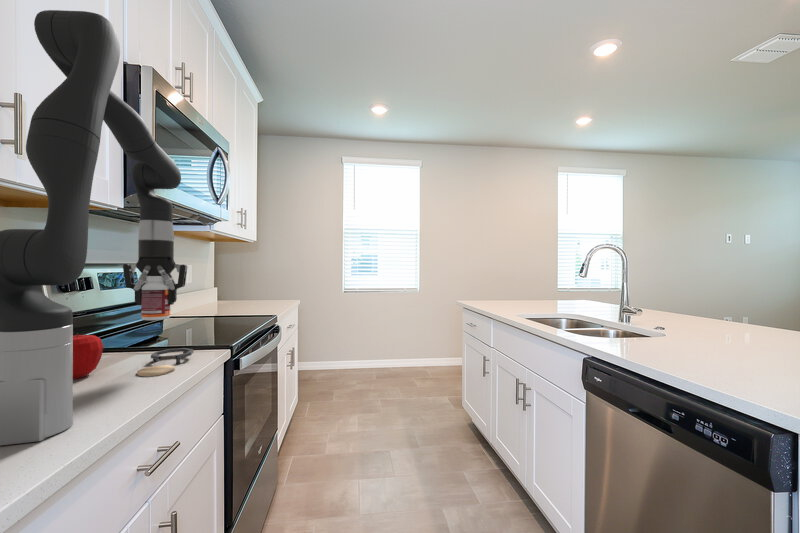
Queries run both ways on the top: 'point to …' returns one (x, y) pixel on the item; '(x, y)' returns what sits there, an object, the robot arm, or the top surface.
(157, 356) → the ring stand
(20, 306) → the robot arm
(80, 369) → the apple
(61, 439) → the top surface
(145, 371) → the cork coaster
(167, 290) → the pill bottle
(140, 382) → the top surface
